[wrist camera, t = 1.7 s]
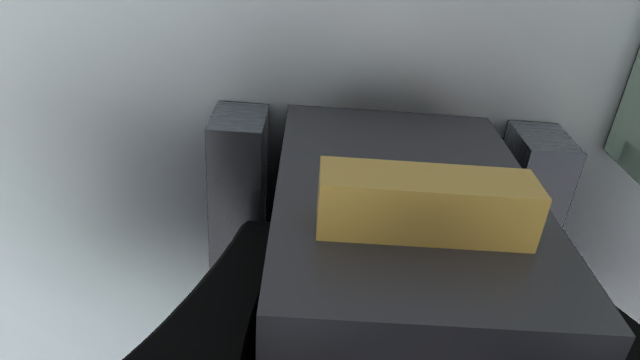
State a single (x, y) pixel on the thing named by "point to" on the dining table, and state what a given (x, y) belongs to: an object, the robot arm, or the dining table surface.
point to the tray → (627, 127)
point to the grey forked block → (252, 150)
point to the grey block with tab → (421, 249)
